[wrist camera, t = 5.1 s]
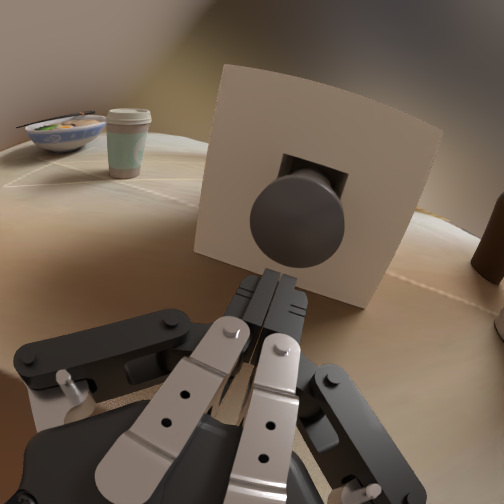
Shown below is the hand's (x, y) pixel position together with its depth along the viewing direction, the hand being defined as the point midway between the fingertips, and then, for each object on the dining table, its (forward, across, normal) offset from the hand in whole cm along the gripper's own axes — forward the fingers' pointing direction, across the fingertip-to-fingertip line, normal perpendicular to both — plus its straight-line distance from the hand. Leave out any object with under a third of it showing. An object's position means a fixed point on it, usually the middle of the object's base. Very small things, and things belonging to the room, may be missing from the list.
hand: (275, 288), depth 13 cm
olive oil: (+41, -45, +10) cm, 62 cm away
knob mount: (+20, 0, +10) cm, 23 cm away
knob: (+11, 0, +3) cm, 12 cm away
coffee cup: (+30, +33, +10) cm, 46 cm away
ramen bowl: (+36, +59, +10) cm, 70 cm away
